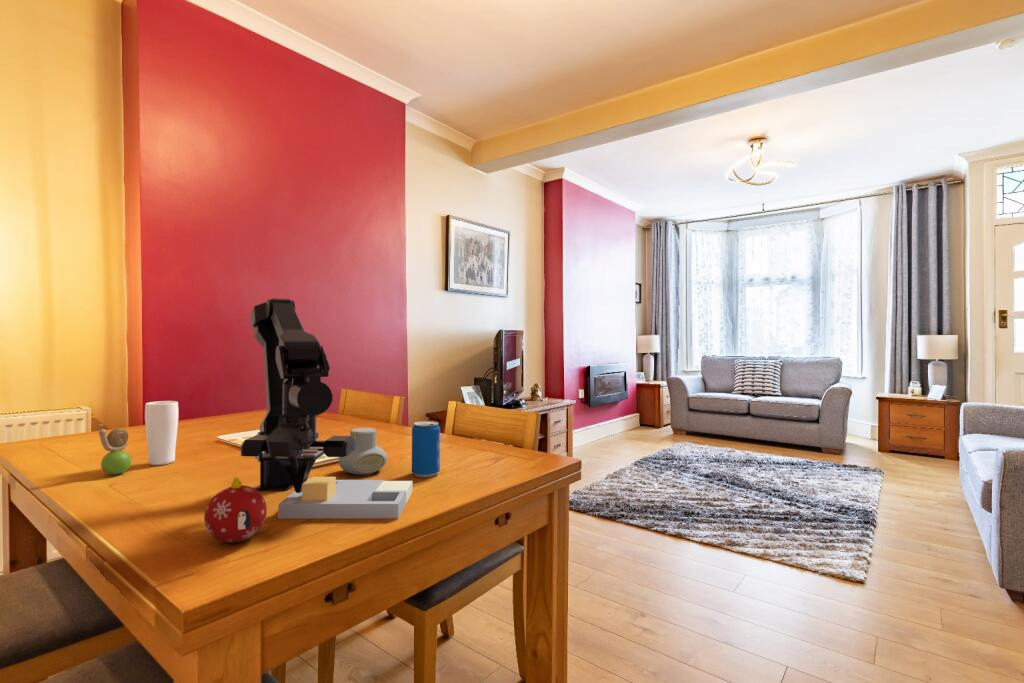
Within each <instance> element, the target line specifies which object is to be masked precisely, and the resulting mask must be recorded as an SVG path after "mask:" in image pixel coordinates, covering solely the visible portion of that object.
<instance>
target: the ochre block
mask: <svg viewBox="0 0 1024 683" xmlns="http://www.w3.org/2000/svg"><path fill="white" fill-rule="evenodd" d="M336 480H337V477H336V476H311V477H310V478H307V481H305V482H304V483H303V484H302V501H327V500H328V499H330V498H331V497H332V496H333V495H334V494H335V493H336Z"/></svg>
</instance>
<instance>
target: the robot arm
mask: <svg viewBox="0 0 1024 683" xmlns="http://www.w3.org/2000/svg"><path fill="white" fill-rule="evenodd" d="M295 304H296V303H295V300H291V299H289V298H270V299H266V301H265V302H263V303H259V304H257V305H254V306H253V307H252V309H251V311H250V316H249V324H250V327H251V328H253V336H254V338H255V340H256V341H257V342H258V343H259V345H260V346H261V347H262V351H263V352H262V353H263V364H264V365H263V368H264V383H265V384H264V386H265V397H266V398H265V399H266V414H265V416H264V418H263V419H262V421H261V422H260V425H259V432H257V434H255V435H254V436H251V437H248V438H247V439H244V440H243V442H242V444H241V446H240V456H241V457H254V459H255V460H256V461H257V462H259V464H260V465H259V485H258V486H257V487H256V488H255V489H256V490H257V491H287V490H290V489H291V488H292V487H293V489H294V491H295V492H296V493H301V492H302V484H303V483H304V482H305V481H307V480H308V479H309V478H308V477H309V475H310V473H311V470H312V468H313V466H314V464H315V462H316V461H317V459H319V458H321V457H322V456H324V455H325V456H326V457H327V458H339V457H345V456H347V455H349V454H350V453H351V452H352V451H354V445H355V441H354V439H353V438H352V436H350V435H332V436H331V437H328V438H327V439H326V440H317V439H319V432H317V418H318V417H319V415H322V414H323V413H325V412H326V411H328V410H329V408H330V407H331V405H332V403H333V399H334V398H333V393H332V390H331V388H330V387H329V385H327V384H326V383H324V382H322V381H321V379H322V378H328V377H329V371H330V365H329V361H328V358H327V355H326V354H327V353H326V352H325V350H324V347H323V346H322V345H321V344H320V341H319V340H318V339H317V338H316V336H315V335H314V334H311V333H308V332H307V331H305V329H304V326H303V324H302V323H301V321H300V319H299V316H298V314H297V311H296V310H297V309H296V306H295Z"/></svg>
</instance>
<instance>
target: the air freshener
mask: <svg viewBox="0 0 1024 683" xmlns="http://www.w3.org/2000/svg"><path fill="white" fill-rule="evenodd" d="M349 436H352V438H353V439H354V441H355V445H354V451H352V452H351V453H350V454H349V455H347V456H345V457H338V465H339V467H340V468H341V469H342V470H343V471H344V472H346V473H348V474H351V475H356V476H369V475H372V474H374V473H376V472H378V471H380V470H381V469H382V468H383V467H384V466H385V465H386V463H387V461H388V455H387V452H386V451H385V450H384V449H383V448H382V447H379V446H377V430H376V428H372V427H357V428H352V429H351V430H350V433H349Z"/></svg>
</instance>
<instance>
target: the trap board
mask: <svg viewBox="0 0 1024 683" xmlns="http://www.w3.org/2000/svg"><path fill="white" fill-rule="evenodd" d="M413 486H414V485H413V480H384V479H336V493H335V494H334V495H333V496H332V497H331V498H330V499H328V500H327V501H302V492H301V493H296V492H295V490H294V491H293V492H292V493H290V494H289V495H288V496H287V497H285V498H284V499H282V500H281V501H280V502H279V503H278V519H279V520H280V519H281V520H282V519H283V520H284V519H285V520H286V519H293V520H294V519H302V520H303V519H306V520H307V519H308V520H309V519H322V520H323V519H327V520H329V519H331V520H332V519H349V520H350V519H360V520H361V519H365V520H366V519H375V520H376V519H388V520H389V519H400V517H401V514H402V512H403V510H405V506H406V505H407V503H408V501H409V499H410V497H411V495H412V493H413Z"/></svg>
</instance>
